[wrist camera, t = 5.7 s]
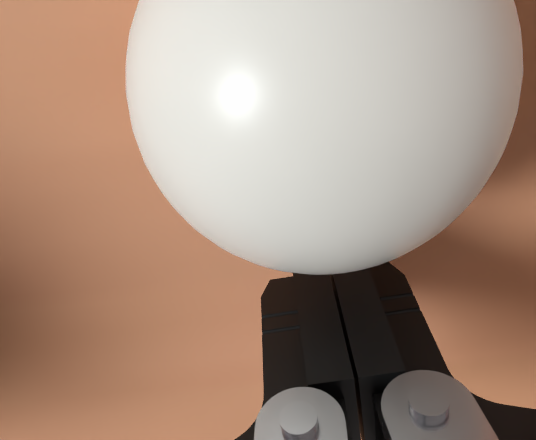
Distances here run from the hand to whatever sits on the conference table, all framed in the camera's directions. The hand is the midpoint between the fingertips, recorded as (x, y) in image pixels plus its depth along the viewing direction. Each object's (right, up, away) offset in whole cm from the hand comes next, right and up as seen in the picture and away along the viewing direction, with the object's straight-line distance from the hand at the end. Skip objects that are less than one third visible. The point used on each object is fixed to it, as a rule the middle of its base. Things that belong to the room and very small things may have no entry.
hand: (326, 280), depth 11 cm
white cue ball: (-1, +3, -3) cm, 5 cm away
